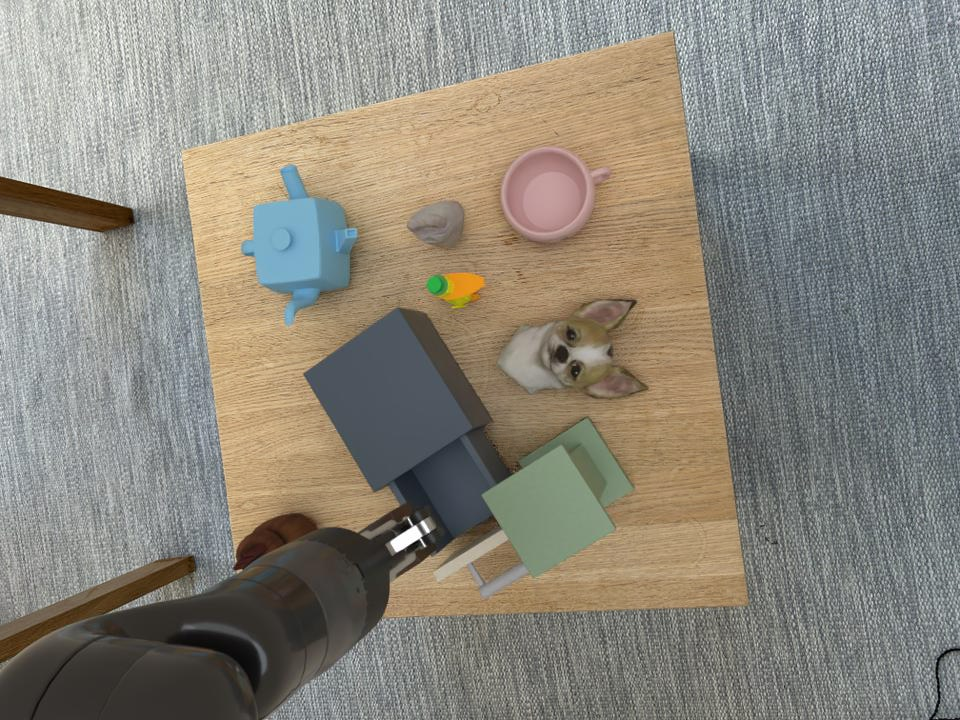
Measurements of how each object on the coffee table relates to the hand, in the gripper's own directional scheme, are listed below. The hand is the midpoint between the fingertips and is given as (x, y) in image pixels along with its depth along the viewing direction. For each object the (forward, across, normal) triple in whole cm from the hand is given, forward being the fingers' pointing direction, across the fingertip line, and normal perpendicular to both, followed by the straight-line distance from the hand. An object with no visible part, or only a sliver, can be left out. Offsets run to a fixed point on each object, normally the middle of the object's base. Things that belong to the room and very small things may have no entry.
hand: (400, 539), depth 63 cm
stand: (+25, +11, -4) cm, 27 cm away
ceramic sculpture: (+25, +18, +7) cm, 31 cm away
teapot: (+25, 0, +33) cm, 41 cm away
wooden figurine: (+25, -21, +7) cm, 33 cm away
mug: (+25, +26, +22) cm, 42 cm away
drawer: (+24, 0, -1) cm, 24 cm away
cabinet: (+25, 0, +13) cm, 28 cm away
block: (0, 0, 0) cm, 0 cm away
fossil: (+25, +14, +26) cm, 38 cm away
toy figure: (+25, +12, +19) cm, 33 cm away
